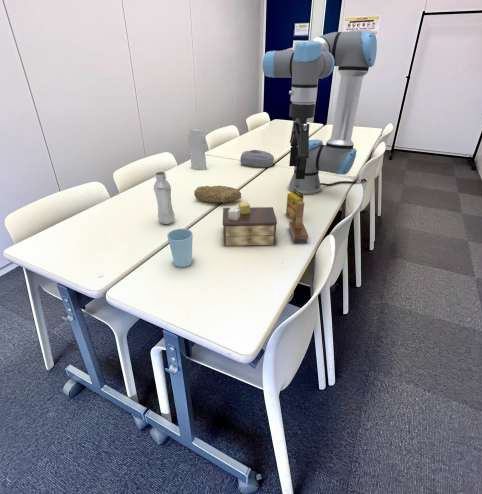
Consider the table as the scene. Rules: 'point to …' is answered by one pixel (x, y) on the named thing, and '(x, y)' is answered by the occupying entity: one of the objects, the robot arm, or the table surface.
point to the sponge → (217, 194)
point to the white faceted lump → (233, 214)
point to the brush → (298, 226)
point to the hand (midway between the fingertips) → (296, 172)
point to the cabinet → (250, 227)
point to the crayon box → (293, 203)
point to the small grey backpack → (257, 158)
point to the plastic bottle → (163, 199)
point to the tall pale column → (197, 149)
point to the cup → (181, 246)
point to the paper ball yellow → (244, 207)
